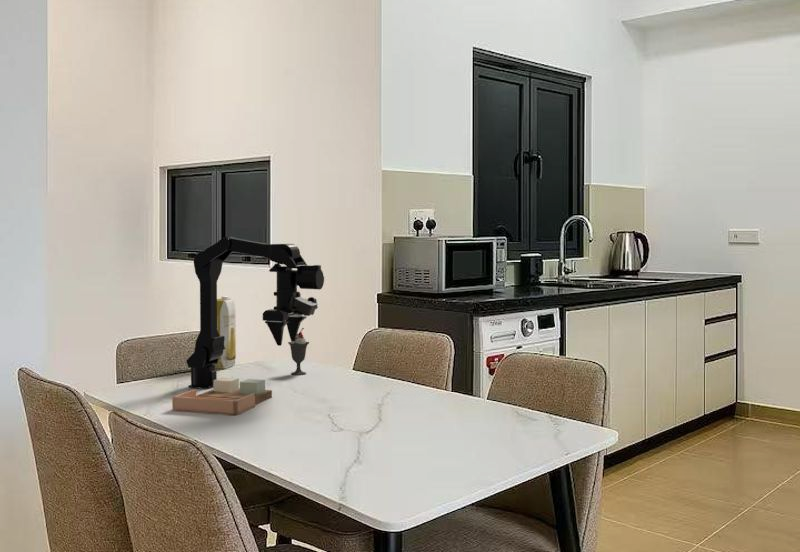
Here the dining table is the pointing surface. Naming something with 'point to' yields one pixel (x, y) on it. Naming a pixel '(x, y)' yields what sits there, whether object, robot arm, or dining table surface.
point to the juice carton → (226, 331)
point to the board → (238, 395)
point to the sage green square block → (252, 386)
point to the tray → (212, 404)
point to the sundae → (298, 351)
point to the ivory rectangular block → (226, 384)
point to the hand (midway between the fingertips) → (286, 343)
